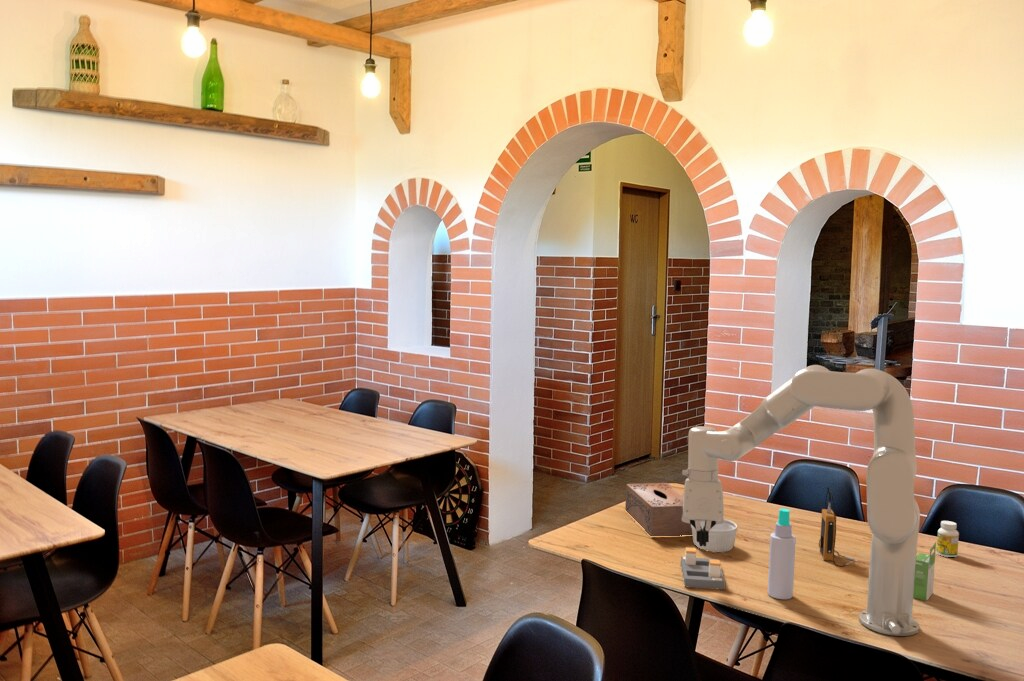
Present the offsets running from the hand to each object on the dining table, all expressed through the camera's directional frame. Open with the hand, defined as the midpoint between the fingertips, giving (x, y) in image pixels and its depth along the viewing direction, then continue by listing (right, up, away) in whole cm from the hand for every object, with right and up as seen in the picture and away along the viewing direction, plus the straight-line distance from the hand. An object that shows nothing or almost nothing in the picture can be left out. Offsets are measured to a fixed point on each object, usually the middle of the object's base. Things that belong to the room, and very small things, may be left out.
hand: (702, 544), depth 212 cm
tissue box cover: (-2, -6, +49) cm, 49 cm away
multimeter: (+44, -9, +21) cm, 50 cm away
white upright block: (+3, -10, +1) cm, 11 cm away
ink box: (+55, -12, -4) cm, 56 cm away
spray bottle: (+18, -11, -6) cm, 22 cm away
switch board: (+1, -10, +5) cm, 11 cm away
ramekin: (+10, -8, +29) cm, 32 cm away
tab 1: (-1, -9, +9) cm, 13 cm away
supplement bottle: (+77, -10, +26) cm, 82 cm away
